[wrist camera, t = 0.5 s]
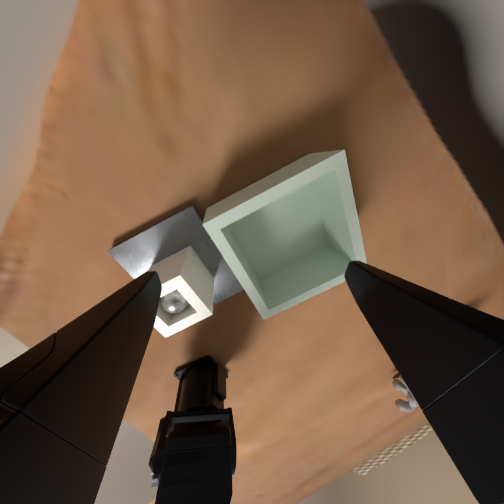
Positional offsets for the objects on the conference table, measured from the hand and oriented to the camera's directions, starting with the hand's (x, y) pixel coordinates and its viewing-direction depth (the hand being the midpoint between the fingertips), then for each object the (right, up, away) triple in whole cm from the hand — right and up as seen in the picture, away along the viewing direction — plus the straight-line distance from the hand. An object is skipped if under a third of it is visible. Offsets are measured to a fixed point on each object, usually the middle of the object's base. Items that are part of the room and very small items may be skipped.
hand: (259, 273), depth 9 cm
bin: (+3, +4, +13) cm, 14 cm away
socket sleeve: (-8, -1, +13) cm, 15 cm away
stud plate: (-8, -1, +14) cm, 16 cm away
